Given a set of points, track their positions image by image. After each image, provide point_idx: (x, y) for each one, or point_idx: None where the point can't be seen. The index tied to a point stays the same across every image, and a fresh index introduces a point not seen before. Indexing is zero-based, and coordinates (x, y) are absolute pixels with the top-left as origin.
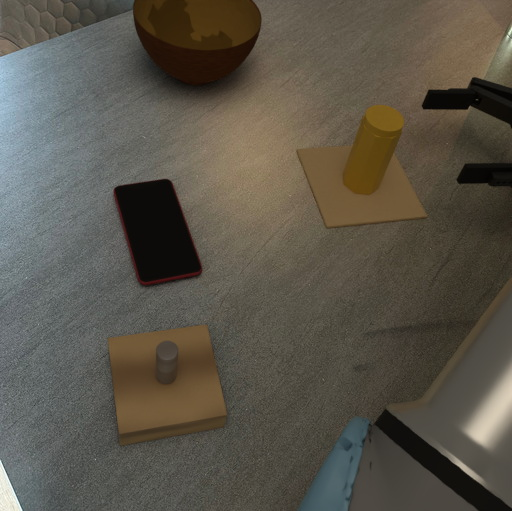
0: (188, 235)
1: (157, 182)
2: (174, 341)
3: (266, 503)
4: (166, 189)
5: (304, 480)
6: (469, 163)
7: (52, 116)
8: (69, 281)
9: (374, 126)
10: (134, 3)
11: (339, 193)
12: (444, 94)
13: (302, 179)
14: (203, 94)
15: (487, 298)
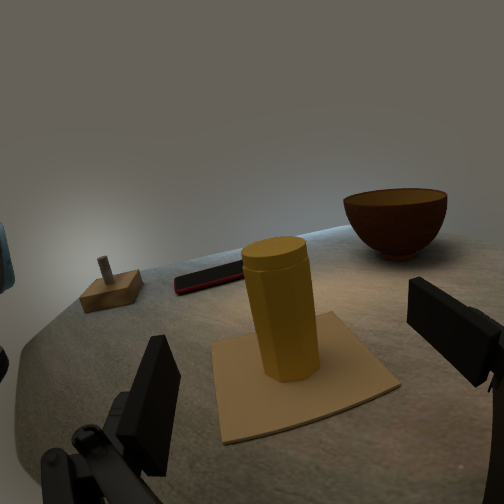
0: (206, 282)
1: None
2: (124, 281)
3: (48, 324)
4: None
5: (44, 334)
6: (162, 340)
7: (311, 239)
8: (188, 268)
9: (250, 244)
10: (378, 191)
11: None
12: (430, 297)
13: None
14: (376, 262)
15: None
